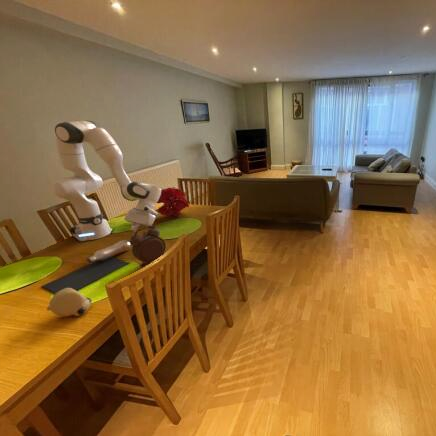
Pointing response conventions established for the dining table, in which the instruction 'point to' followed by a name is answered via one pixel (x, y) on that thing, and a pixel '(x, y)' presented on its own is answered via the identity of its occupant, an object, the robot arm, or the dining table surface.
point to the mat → (85, 275)
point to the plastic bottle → (109, 252)
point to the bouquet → (172, 202)
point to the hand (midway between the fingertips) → (133, 230)
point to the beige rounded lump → (69, 303)
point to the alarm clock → (147, 245)
